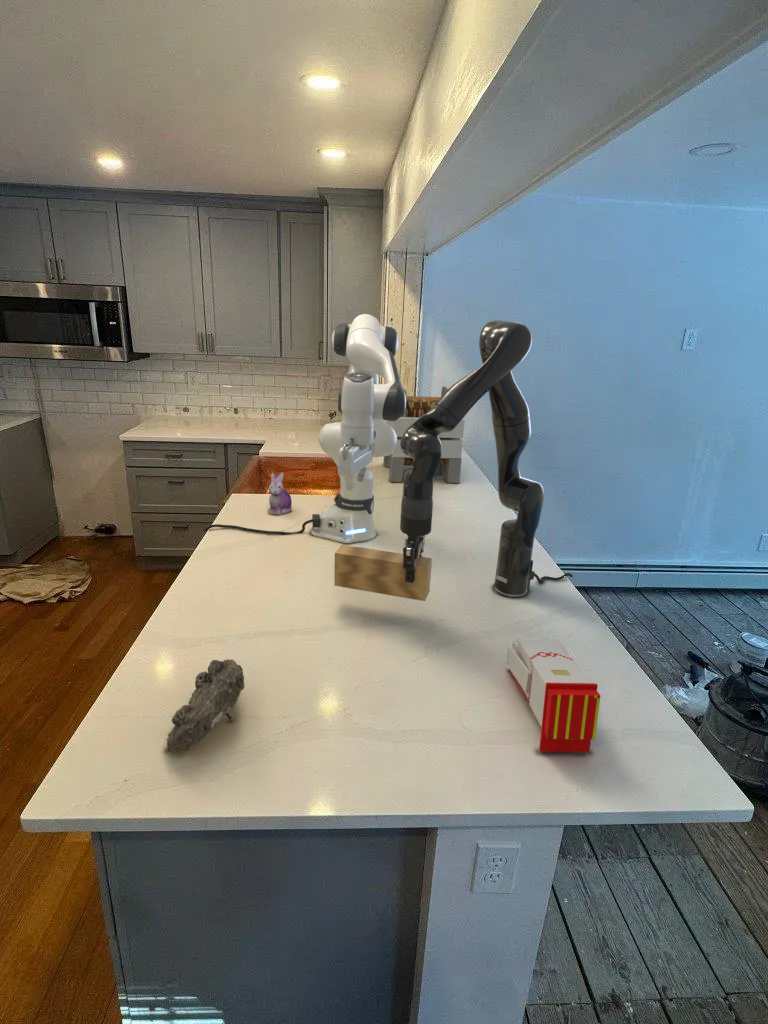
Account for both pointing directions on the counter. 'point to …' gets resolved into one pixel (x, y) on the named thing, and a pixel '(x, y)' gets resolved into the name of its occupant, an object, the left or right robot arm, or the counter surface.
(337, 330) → the left robot arm
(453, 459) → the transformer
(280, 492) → the figurine
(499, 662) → the counter surface
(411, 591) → the bar
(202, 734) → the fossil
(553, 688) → the toy
